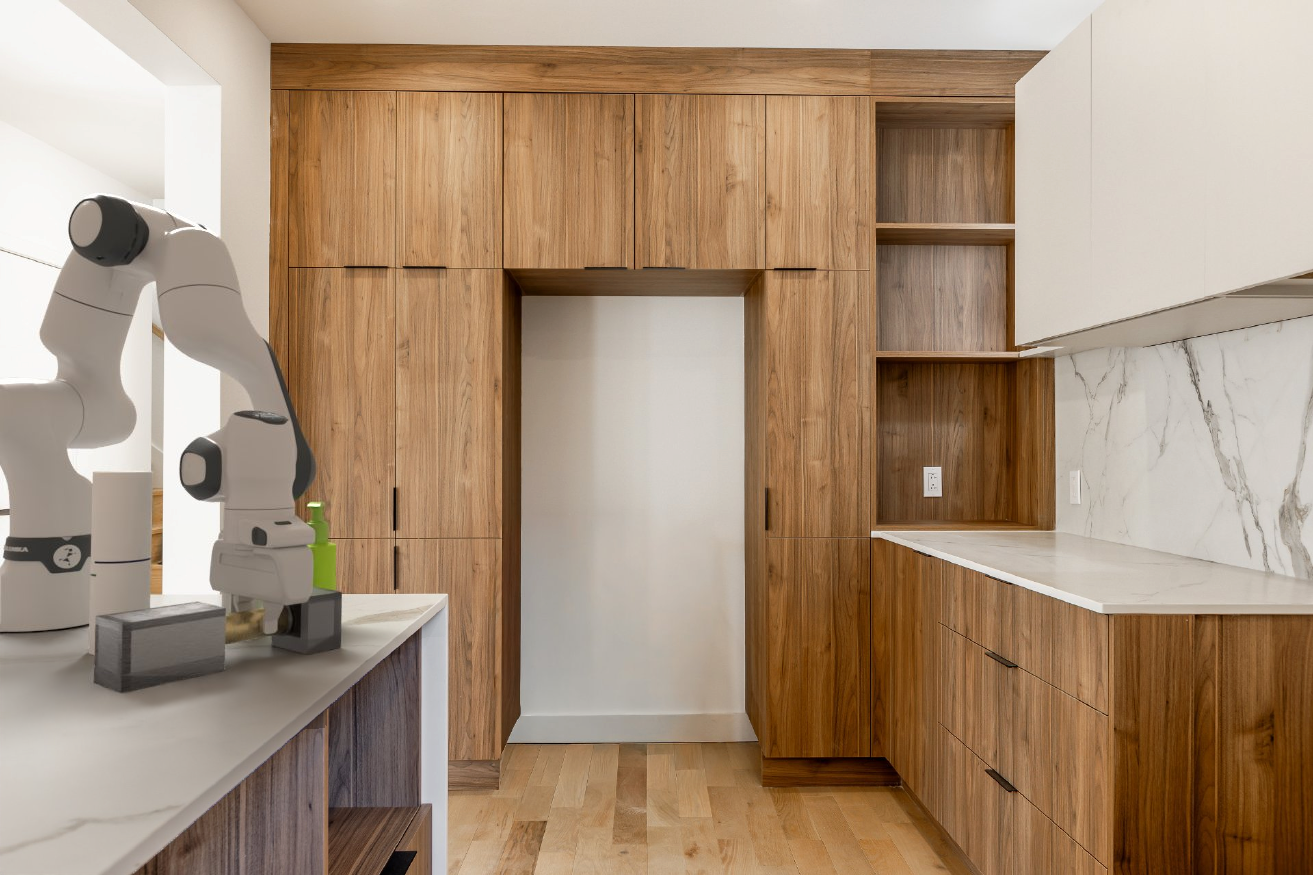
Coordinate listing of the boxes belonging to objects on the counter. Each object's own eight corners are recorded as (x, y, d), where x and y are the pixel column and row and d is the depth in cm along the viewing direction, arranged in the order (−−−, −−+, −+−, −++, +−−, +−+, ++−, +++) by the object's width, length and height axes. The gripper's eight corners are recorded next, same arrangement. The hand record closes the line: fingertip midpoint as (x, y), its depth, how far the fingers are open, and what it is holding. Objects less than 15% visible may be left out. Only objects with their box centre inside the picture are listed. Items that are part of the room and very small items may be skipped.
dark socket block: (307, 654, 113) (308, 596, 113) (271, 645, 118) (272, 589, 118) (340, 647, 117) (341, 591, 117) (304, 638, 122) (305, 585, 122)
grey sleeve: (120, 692, 94) (122, 623, 95) (93, 682, 98) (95, 615, 99) (224, 670, 104) (225, 607, 104) (196, 661, 108) (197, 601, 109)
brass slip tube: (176, 660, 101) (177, 622, 101) (159, 654, 103) (160, 618, 103) (297, 636, 114) (297, 603, 114) (278, 632, 117) (279, 600, 117)
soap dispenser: (290, 632, 127) (293, 503, 127) (299, 622, 133) (301, 500, 134) (330, 630, 128) (333, 503, 128) (337, 621, 135) (339, 500, 135)
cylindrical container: (119, 657, 110) (123, 472, 111) (75, 653, 112) (79, 471, 112) (161, 644, 117) (165, 471, 118) (119, 642, 119) (123, 470, 119)
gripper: (198, 525, 115) (196, 624, 115) (278, 535, 103) (275, 645, 103) (242, 522, 120) (240, 616, 120) (323, 532, 109) (321, 636, 108)
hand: (257, 630), depth 112 cm, fingers closed on brass slip tube, 4 cm apart
